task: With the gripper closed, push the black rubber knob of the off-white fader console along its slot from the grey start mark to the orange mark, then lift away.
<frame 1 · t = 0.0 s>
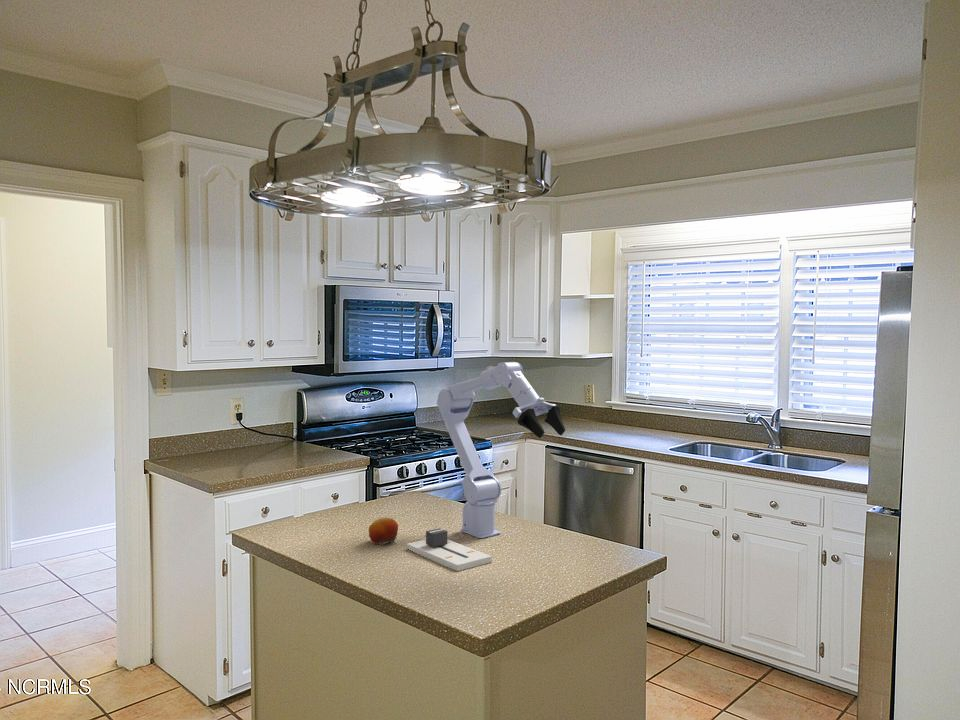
hand: (552, 434, 188), 32 cm above the countertop, tool tilted 50°, fingers open, 7 cm apart
fader knob: (436, 537, 194), point 4 cm above the countertop, slide at -5.0 cm
fader console: (448, 555, 190), on the countertop
fruit: (383, 543, 201), on the countertop
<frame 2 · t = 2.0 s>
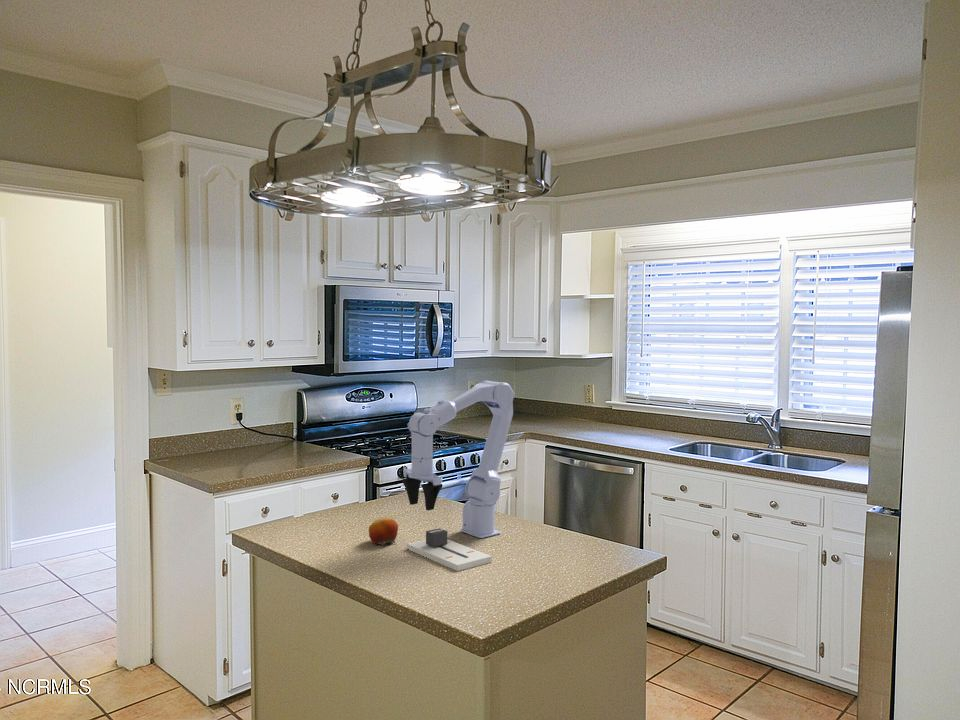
hand: (421, 506, 199), 10 cm above the countertop, tool pointing down, fingers open, 7 cm apart
nothing on the countertop moved.
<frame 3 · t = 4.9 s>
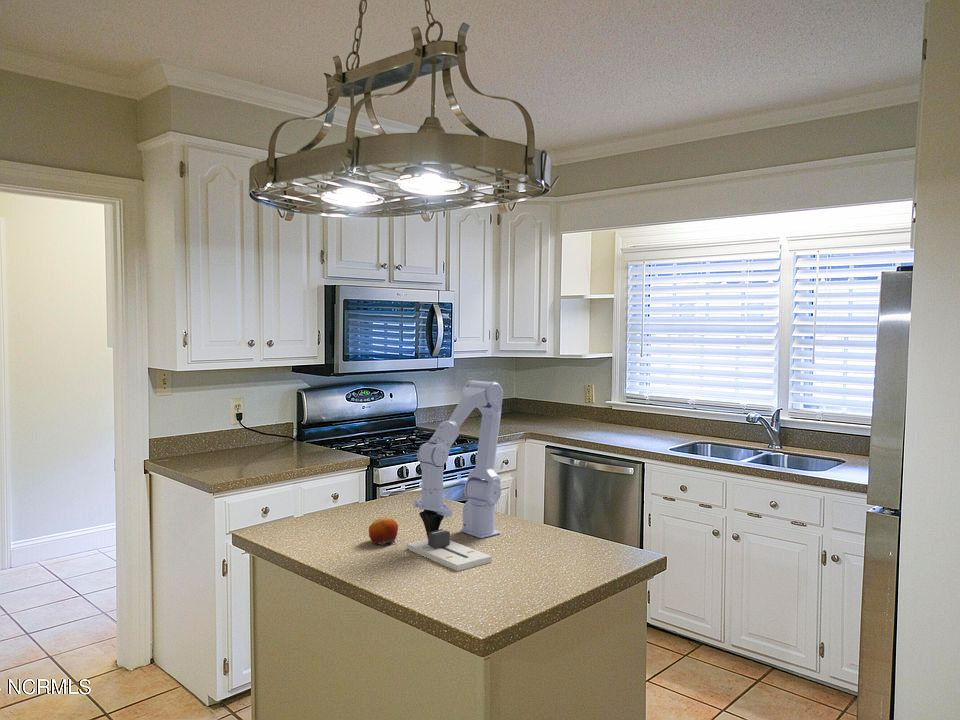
hand: (432, 538, 196), 3 cm above the countertop, tool pointing down, fingers closed
fader knob: (438, 538, 193), point 4 cm above the countertop, slide at -4.0 cm, touching gripper
everything else where it was.
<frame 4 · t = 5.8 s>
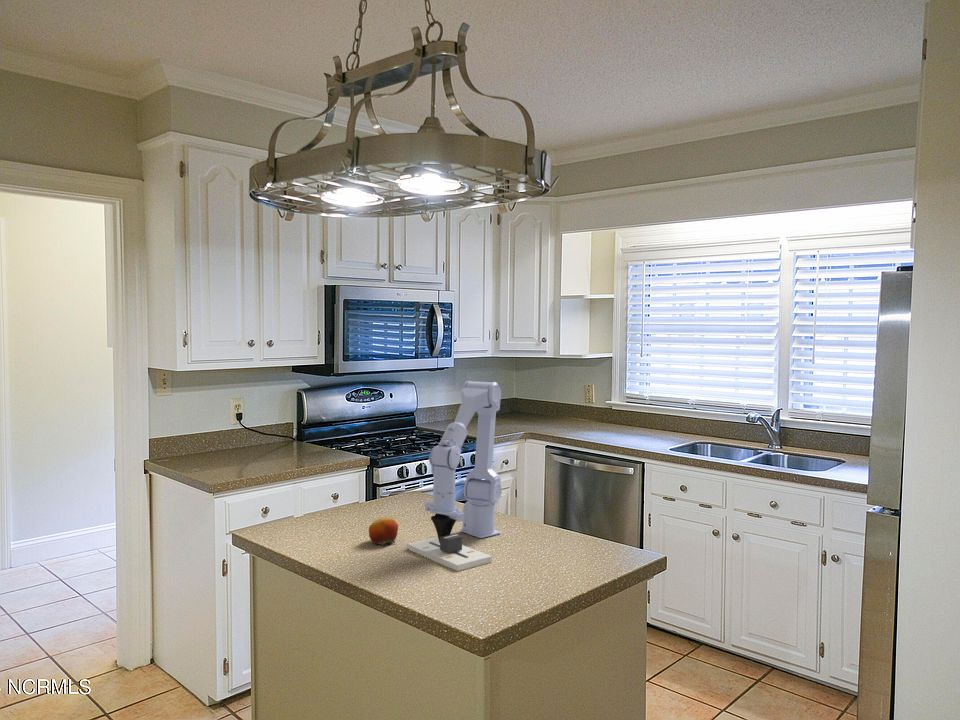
hand: (443, 542, 192), 3 cm above the countertop, tool pointing down, fingers closed
fader knob: (451, 543, 189), point 4 cm above the countertop, slide at 1.3 cm, touching gripper
everything else where it was.
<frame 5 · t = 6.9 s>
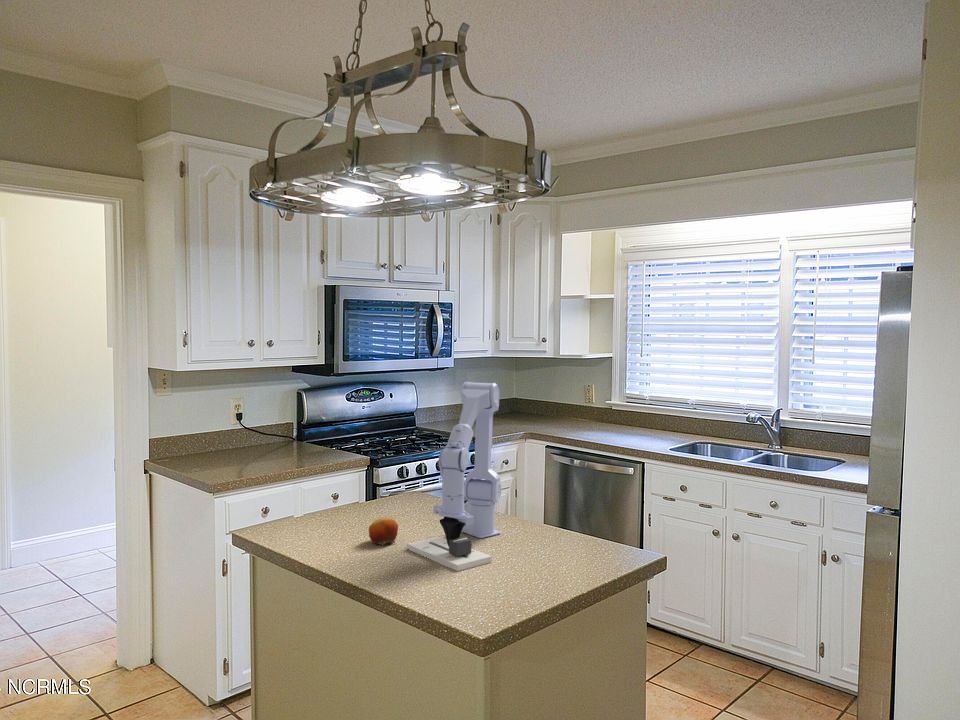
hand: (452, 546, 189), 3 cm above the countertop, tool pointing down, fingers closed
fader knob: (460, 546, 186), point 4 cm above the countertop, slide at 5.0 cm, touching gripper
everything else where it was.
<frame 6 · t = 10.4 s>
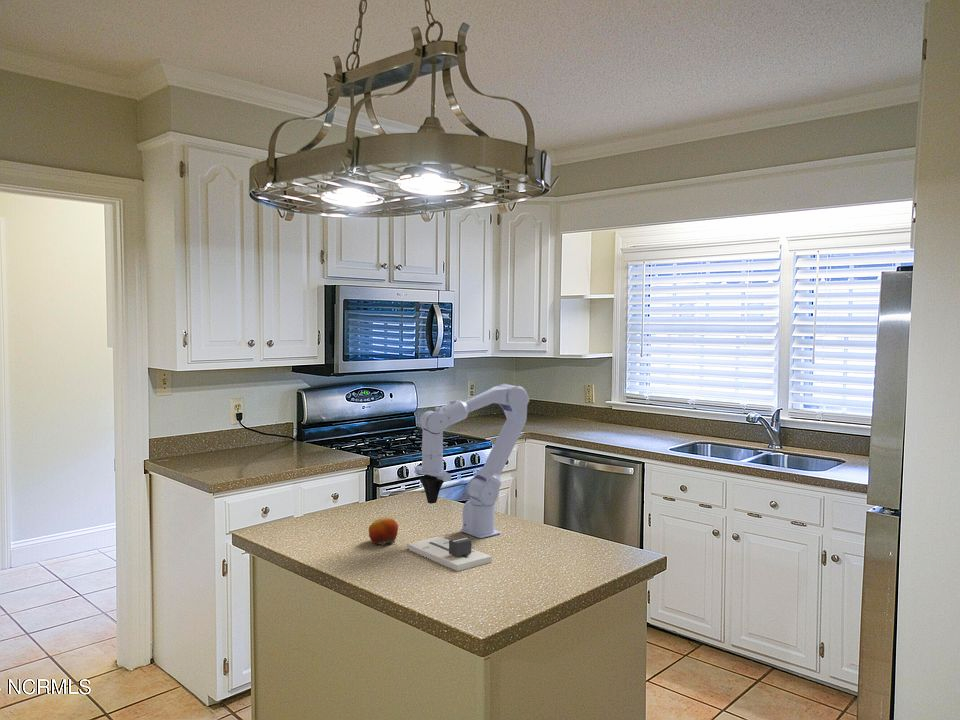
hand: (432, 502, 204), 10 cm above the countertop, tool pointing down, fingers closed
fader knob: (460, 546, 186), point 4 cm above the countertop, slide at 5.1 cm
everything else where it was.
at the end: fader knob slide at 5.1 cm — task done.
